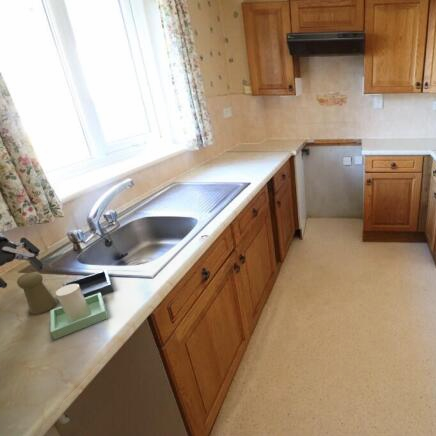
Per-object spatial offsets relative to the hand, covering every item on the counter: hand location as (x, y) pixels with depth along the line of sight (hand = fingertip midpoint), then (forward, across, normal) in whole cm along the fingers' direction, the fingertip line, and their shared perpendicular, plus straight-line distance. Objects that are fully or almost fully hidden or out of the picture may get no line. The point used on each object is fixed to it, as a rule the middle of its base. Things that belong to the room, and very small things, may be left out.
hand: (23, 277), depth 89 cm
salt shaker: (+19, 0, -6) cm, 20 cm away
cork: (+9, 0, +6) cm, 10 cm away
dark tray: (+12, +10, +1) cm, 16 cm away
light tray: (+19, 0, -5) cm, 20 cm away
